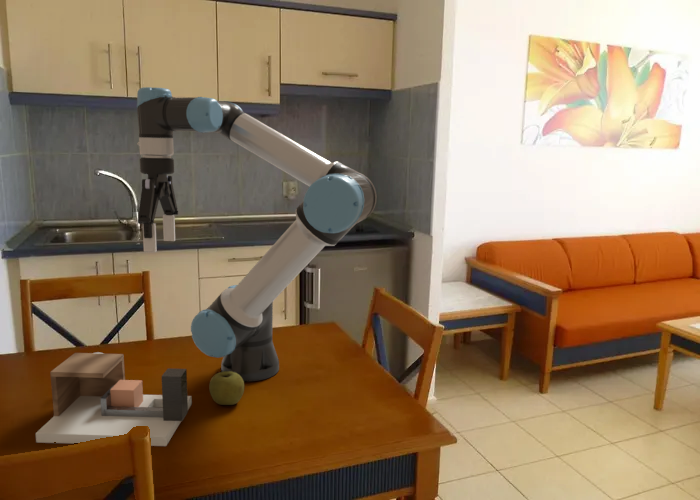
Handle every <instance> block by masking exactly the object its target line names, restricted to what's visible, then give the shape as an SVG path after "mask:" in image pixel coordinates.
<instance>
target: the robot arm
mask: <svg viewBox="0 0 700 500" xmlns="http://www.w3.org/2000/svg"><path fill="white" fill-rule="evenodd" d="M136 94H137V95H136V96H137V99H136V111H137V122H138V142H137V143H136V145H137V146H138V147H139V155H140V156H142V157H140V158H139V166H140V167H139V169H140V170H139V171H140V173H141V174H143V175H147V178H146V179H144V178H142V180H141V194H140V200H139V210H138V217H137V224H142V242H143V243H142V245H143V252H144V253H157V249H158V247H157V226H156V225H157V223H154V222H155V219H156V214H157V209H158V206H159V205H158V204H159V203H160V206H161V208H162V211H163V215H162V227H163V228H162V229H163V230H162V231H163V232H162V233H163V242H175V241H176V222H175V220H176V219H175V218H176V217H175V215H176V216H177V215H179V210H178V205H177V200H176V196H175V195H176V194H175V189H174V186H173V185H174V183H173V175H172V174H174V173H175V160H174V158H173V157H172V156H174V155H175V153H174V149H175V147H174V132H189V133H190V132H192V133H193V132H194V133H202V134H203V133H217V134H219V135H221V136H223V137H225V138H227V139H228V140H230V141H232V142H234V143H235V144H236V145H239V146H240V147H242V148H244V149H245V150H246V151H249V153H251V154H253V155H256V157H259V158H260V159H262V160H264V161H265V162H268V163H269V164H271V165H272V166H274V167H276V168H277V169H279V170H281V171H282V172H284V173H286V174H288V175H289V176H290V177H292V178H294V179H296V180H297V181H299V182H301V183H303V184H305V185H306V186H308V189H306V192H305V194H304V197H303V200H302V202H301V203H300V204H299V205H298V206H297V207H296V209H295V220H294V221H293V222H292V223H291V224H290V225H289V226H288V228H287V229H286V230H285V231H284V232H283V234H282V235H280V237H279V238H278V239H277V240H276V241H275V243H274V244H273V245H271V247H270V248H269V249H268V250H267V251H266V252H265V254H264V255H263V256H261V258H260V260H258V262H257V263H255V265H253V267H252V268H251V269H250V270H249V271H248V272H247V274H246V275H244V276H243V278H242V279H241V281H239V282H238V284H234V285H233V284H232V285H230V286H228V287H227V288H225V289H224V290H223V291H222V292H221V293H219V295H218V296H217V298H216V299H215V300H213V302H212V303H211V304H210V305H209V306H208V307H207V308H205V309H202V310H200V311H199V312H198V313H196V315H195V316H194V317H193V319H192V320H191V325H190V332H191V338H192V341H193V342H194V344H195V346H196V348H198V350H200V352H201V353H202V354H204V355H206V356H208V357H212V358H218V359H219V358H222V360H221V364H220V365H221V369H220V370H221V372H224V371H232V372H235V373H237V374H239V375H240V376H241V377H242V379H243V381H244V382H256V381H257V382H258V381H262V380H266V379H270V378H271V377H274V376H275V375H276V374H277V373H278V372H279V370H280V360H279V358H278V354H277V351H276V348H275V346H274V342H273V319H274V318H273V316H274V315H273V310H274V309H273V308H274V307H273V306H274V304H273V303H274V301H275V300H276V299H277V297H278V296H279V295H280V294H281V293H282V292H283V291H284V290H285V289H286V288H287V287H288V286H289V285H290V284H291V283H292V282H293V281H294V279H295V278H296V277H297V276H298V275H299V274H300V273H301V272H302V271H303V270H304V269H305V268H306V267H307V266H308V265H309V264H310V263H311V261H312V260H313V259H315V257H316V256H317V255H318V254H319V253H320V252H321V251H322V250H323V249H324V248H325V247H335V246H336V245H337V244H338V243H339V242H340V241H341V240H342V239H343V238H344V237H345V235H347V234H348V233H349V232H350V231H351V230H352V228H354V226H355V225H356V224H358V223H360V222H363V221H364V220H366V219H367V218H368V217H370V215H371V214H372V213H373V211H374V210H375V207H376V204H377V198H378V197H377V196H378V195H377V190H376V188H375V186H374V184H373V182H372V180H370V178H369V177H367V176H366V175H364V173H361V172H359V171H357V170H355V169H353V168H350V167H349V166H347V165H346V164H343V163H341V162H340V161H334V162H331V161H330V160H327V159H326V158H324V157H323V156H321V155H319V154H317V153H315V152H314V151H312V150H311V149H309V148H307V147H305V146H303V145H302V144H301V143H298V142H296V141H295V140H293V139H291V138H289V137H288V136H286V135H284V134H283V133H281V132H279V131H277V130H275V129H274V128H272V127H270V126H268V125H267V124H265V123H263V122H262V121H260V120H258V119H257V118H255V117H253V116H251V115H250V114H248V113H246V112H244V111H243V109H242V108H241V107H240V106H239V105H237V104H236V103H233V102H231V101H225V100H223V101H222V100H217V99H215V98H213V97H205V96H197V97H196V96H195V97H174V96H172V95H173V94H172V91H171V90H170V89H169V88H163V87H147V86H146V87H139V89H138V91H137V93H136Z"/></svg>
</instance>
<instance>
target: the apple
mask: <svg viewBox="0 0 700 500" xmlns="http://www.w3.org/2000/svg"><path fill="white" fill-rule="evenodd" d="M244 392H245V381H243V379H242V377H241V376H240V375H239V374H237V373H235V372H232V371H224V372H222V371H221V372H217V373H215V374H214V375H213V376H212V377H211V379H210V381H209V393H210V397H211V398H212V400H213V401H214V403H216V404H218V405H221V406H222V405H223V406H233V405H236V404H237V403H238V402H240V400H241V399H242V397H243V395H244Z"/></svg>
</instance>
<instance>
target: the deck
mask: <svg viewBox="0 0 700 500" xmlns="http://www.w3.org/2000/svg"><path fill="white" fill-rule="evenodd" d="M101 397H102V396H80V397H79V398H78V399H77V400H75V401H74V402H73V403H72V404H71V405H70V406H69V407H68V408H67V409H66V410H65V411H64V412H63V413H62V414H61V415H60V416H54V415H53V417H51V418H50V420H48V421H47V422H46V423H45V424H44V425H43V426H41V428H40V429H38V430H37V432H35V443H37V444H38V443H43V444H44V443H45V444H72V445H73V444H74V443H80V442H86V441H90V440H95V439H100V438H106V437H113V436H119V435H124V434H127V433H128V432H129V431H130V430H131V429H132V428H133V427H136V426H148V427H149V429H150V438H151V446H150V447H153V446H154V447H167V446H168V444H169V443H170V441H171V438H172V437H173V435H174V434H175V433H176V430H177V429H178V427H179V426H180V424H181V422H182V421H163V418H159V417H123V416H102V415H101V400H100V398H101ZM192 399H193V398H192V395H187V400H188V410H189V409H190V408H191V407H192V404H193V401H192ZM139 407H156V408H163V399H162V394H143V402H142V403H141V404H140V406H139ZM54 442H56V443H54Z"/></svg>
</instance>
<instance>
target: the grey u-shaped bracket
mask: <svg viewBox="0 0 700 500" xmlns="http://www.w3.org/2000/svg"><path fill="white" fill-rule="evenodd" d="M187 371H188V370H187V368H171V367H170V368H167V369H166V370H165V371H164V372H163V374H162V375H161V395H162V399H163V407H120V406H111V393H110V390H111V388H112V387H113V386H112V387H111V388H110V389H109V390H108V391H107V392H106V393H105V394H104V395H103V396H102V397H101V398H100V400H101V415H102V416H123V417H159V418H163V421H181V422H183V421H184V419H185V417H186V416H187V414H188V413H189V409H188V400H187V396H188V377H187V376H188V372H187Z"/></svg>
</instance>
